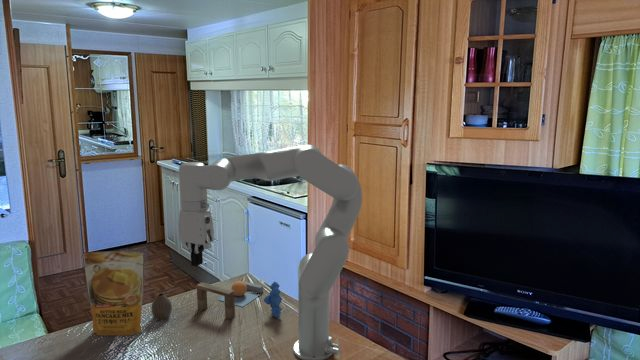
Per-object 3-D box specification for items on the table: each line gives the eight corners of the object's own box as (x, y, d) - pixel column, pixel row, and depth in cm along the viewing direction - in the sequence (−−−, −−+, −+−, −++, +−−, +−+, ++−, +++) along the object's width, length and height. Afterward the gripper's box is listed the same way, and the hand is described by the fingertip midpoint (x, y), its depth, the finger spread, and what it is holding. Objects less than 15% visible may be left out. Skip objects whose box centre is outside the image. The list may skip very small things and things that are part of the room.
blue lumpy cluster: (262, 307, 170) (262, 277, 168) (280, 306, 171) (280, 276, 169) (265, 323, 159) (264, 291, 157) (284, 321, 160) (284, 289, 158)
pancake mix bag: (94, 326, 156) (86, 249, 150) (150, 325, 156) (144, 249, 151) (85, 336, 149) (76, 256, 144) (143, 336, 150) (137, 256, 144)
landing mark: (261, 294, 181) (261, 294, 181) (242, 307, 170) (242, 306, 170) (237, 288, 186) (237, 287, 186) (217, 300, 176) (217, 299, 176)
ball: (246, 280, 177) (238, 294, 174) (251, 287, 182) (243, 301, 178) (234, 276, 180) (226, 289, 176) (239, 283, 184) (231, 296, 181)
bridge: (203, 306, 171) (202, 282, 169) (234, 315, 164) (234, 290, 162) (197, 309, 168) (196, 285, 166) (229, 319, 161) (228, 294, 159)
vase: (175, 313, 165) (174, 290, 164) (167, 322, 159) (166, 299, 157) (157, 312, 166) (155, 289, 164) (148, 321, 159) (146, 298, 158)
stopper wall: (262, 291, 183) (262, 286, 183) (260, 293, 182) (259, 287, 181) (243, 286, 188) (242, 280, 187) (240, 288, 186) (239, 282, 186)
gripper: (222, 205, 131) (224, 265, 135) (184, 199, 138) (187, 256, 142) (205, 211, 125) (207, 273, 129) (165, 204, 132) (169, 264, 135)
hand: (197, 264), depth 135 cm, fingers closed
